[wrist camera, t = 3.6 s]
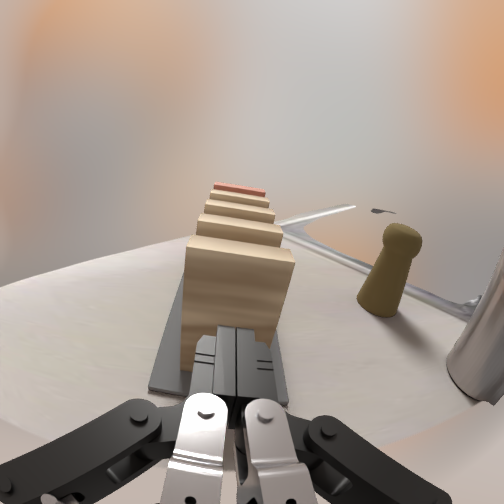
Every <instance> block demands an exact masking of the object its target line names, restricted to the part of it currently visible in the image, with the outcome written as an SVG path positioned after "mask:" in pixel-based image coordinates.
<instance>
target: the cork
mask: <svg viewBox="0 0 504 504" xmlns="http://www.w3.org/2000/svg"><path fill="white" fill-rule="evenodd" d="M383 244H384V247H383V249H382V251H381V253H380V255H379V257H378V259H377V260H376V262H375V264H374V266H373V268H372V270H371V272H370V273H369V275H368V277H367V279H366V281H365V283H364V284H363V286H362V288H361V290H360V291H359V293H358V295H357V301H358V303H359V304H360V305H361V306H362V307H363V308H364V309H365V310H367V311H368V312H370V313H372V314H374V315H377V316H380V317H392V316H394V315H395V314H396V312H397V309H398V306H399V303H400V300H401V297H402V293H403V290H404V287H405V283H406V280H407V277H408V273H409V269H410V266H411V262H412V259H413V258H414V257H415V256H417V254H418V253H419V251H420V249H421V246H422V237H421V236H420V234H419V233H418V232H417V231H415V230H414V229H412V228H410V227H408V226H406V225H403V224H398V223H392V224H390V225H389V226H387V228H386V229H385V231H384V234H383Z"/></svg>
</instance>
